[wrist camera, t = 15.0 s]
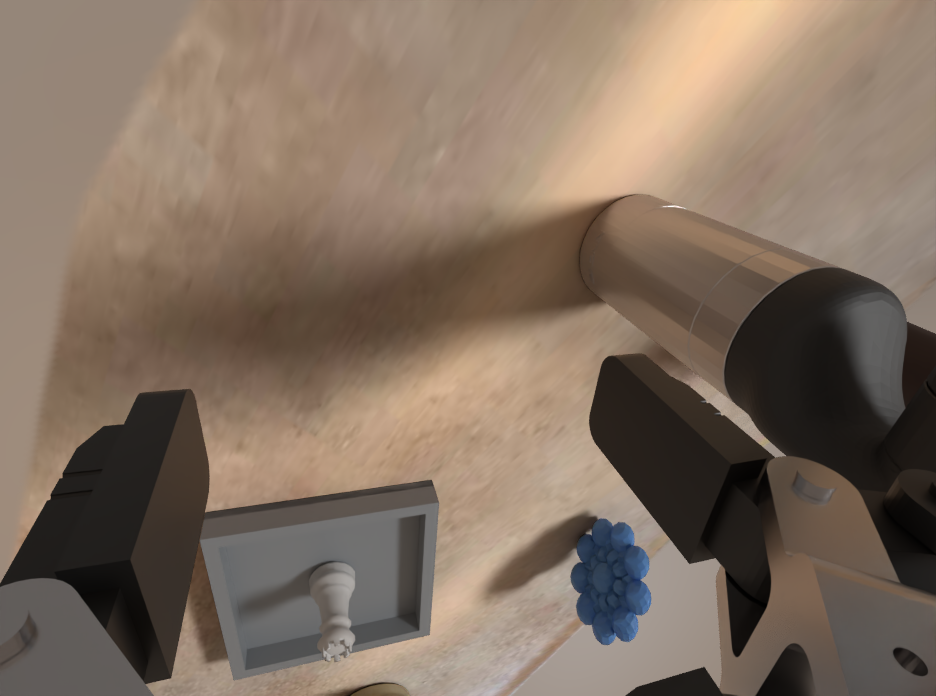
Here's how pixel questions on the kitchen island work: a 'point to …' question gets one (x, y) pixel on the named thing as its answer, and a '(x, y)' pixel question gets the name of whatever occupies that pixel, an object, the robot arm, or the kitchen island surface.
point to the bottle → (917, 360)
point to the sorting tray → (304, 550)
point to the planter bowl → (383, 690)
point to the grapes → (611, 581)
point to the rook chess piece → (334, 607)
